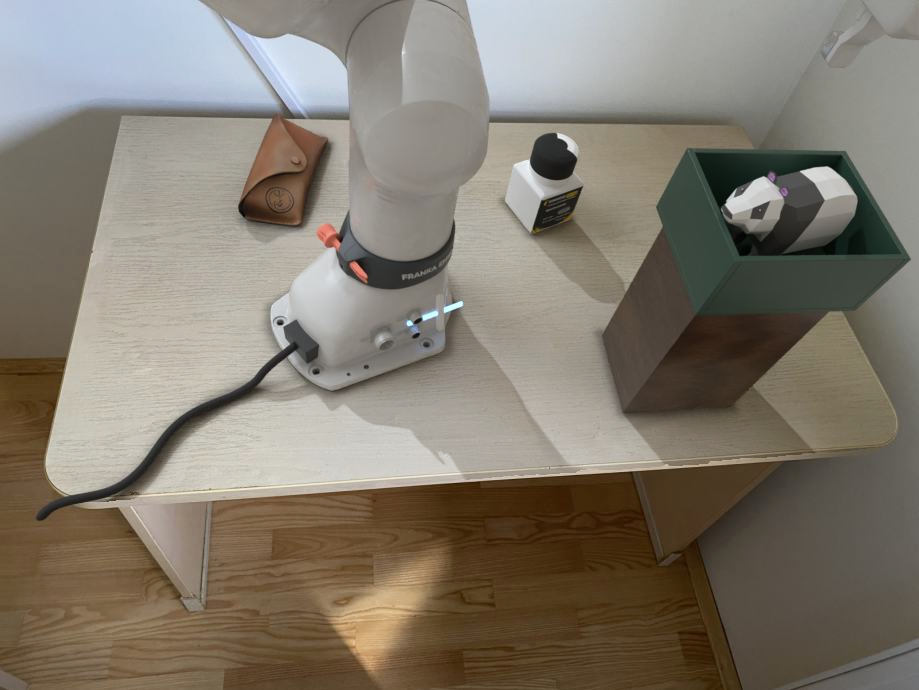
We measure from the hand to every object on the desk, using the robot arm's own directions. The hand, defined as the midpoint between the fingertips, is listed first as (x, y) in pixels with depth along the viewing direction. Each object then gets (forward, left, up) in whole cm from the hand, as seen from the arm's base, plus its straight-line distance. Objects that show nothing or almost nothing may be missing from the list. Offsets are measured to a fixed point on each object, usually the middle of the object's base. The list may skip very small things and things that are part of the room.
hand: (806, 21), depth 48 cm
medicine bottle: (+6, +22, -43) cm, 49 cm away
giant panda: (+1, -7, -20) cm, 21 cm away
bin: (+2, -7, -21) cm, 22 cm away
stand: (+2, -7, -43) cm, 44 cm away
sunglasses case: (-21, +46, -43) cm, 66 cm away
